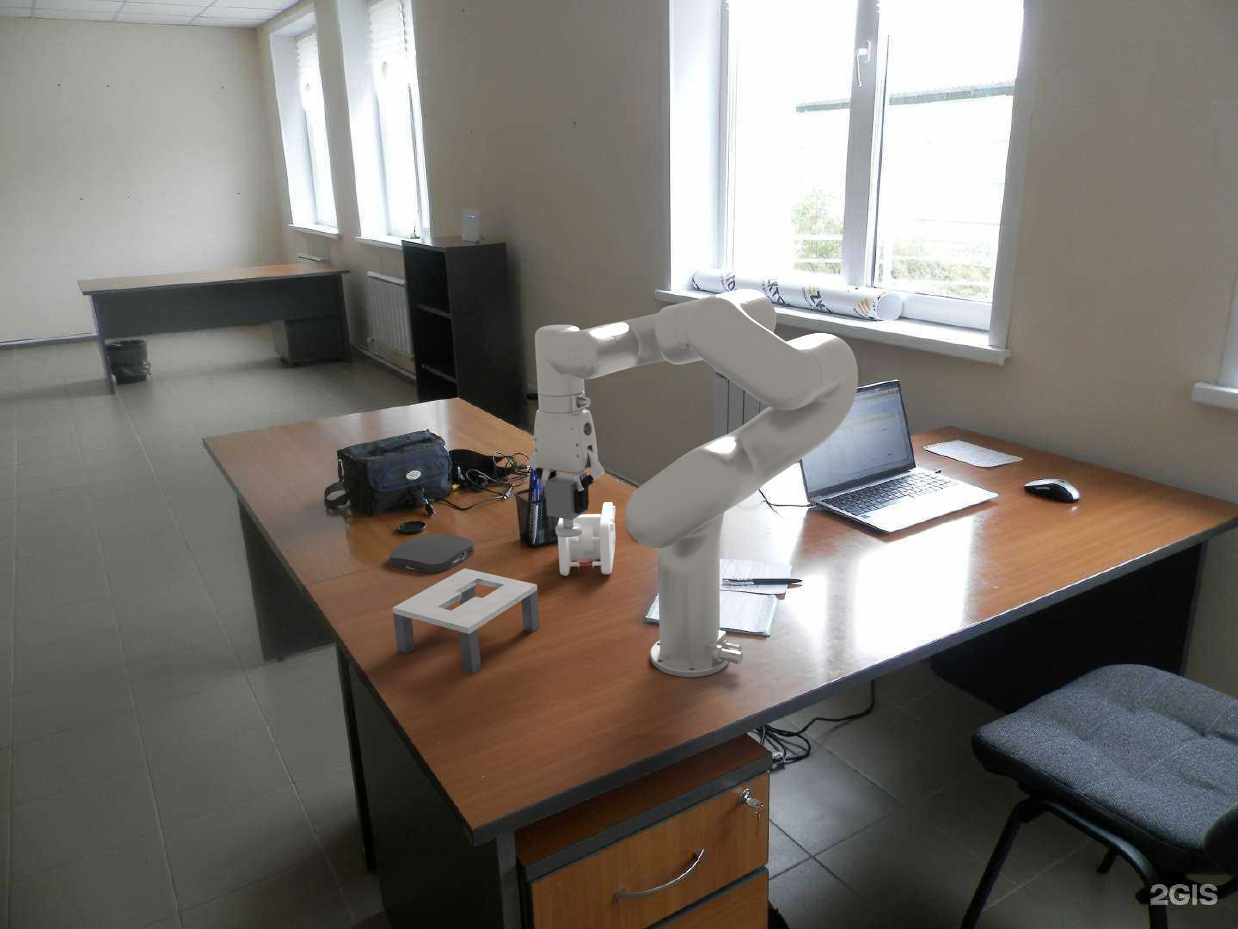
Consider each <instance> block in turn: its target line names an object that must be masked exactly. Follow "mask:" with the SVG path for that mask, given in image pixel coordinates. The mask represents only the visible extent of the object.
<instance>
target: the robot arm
mask: <svg viewBox="0 0 1238 929" xmlns="http://www.w3.org/2000/svg"><path fill="white" fill-rule="evenodd" d="M776 324H777V313H776V310H775V306H774V305H773V303H772V302H771V300H770V299H769V297H767V296H766V295H764V294H763V293H761V292H760V291H758V290H754V289H747V288H745V289H736V290H732V291H727V292H721V293H718V294H714V295H710V296H707V297H703V298H698V299H694V300H689V301H685V302H682V303H677V304H672V305H668V306H665V307H663V308H662V309H660V310H659V311H658V312H655V313H652V314H647V315H644V316H640V317H636V318H630V319H626V320H621V321H618V322H611V323H607V324H602V325H597V326H593V327H589V328H585V329H584V328H583V329H580V328H579V327H578V326H575V325H572V324H552V325H551V324H550V325H545V326H542V327H541V326H540V327H539V328H538V329H536V332H535V334H534V347H535V362H536V364H535V365H536V380H537V397H538V400H537V401H538V409H537V410H536V413H535V416H534V417H535V418H534V419H535V420H534V430H533V452H532V453H531V455H530V457H529V458H528V460H527V464H528V466H529V467H530V468H531V469H532V470H533V471H535V474H536V475H537V476H538V478H539V479H540V483H541V485H542V486H543V487H545V481H546V480H549V479H551V478H553V477H555V476H557V475H558V472H561V473H566V474H572V475H573V478H574V482H575V485H576V489H577V490H575V491H574V503H575V513H576V514H580V513H582V512H583V511H585V510H587V509H588V510H589V504H590V499H589V498H590V497H589V488H590V487H592V485H593V483H594V482H595V481H596V480H597V479H599V478H600V477H601V476H603V475H604V473H605V470H606V469H604V467H603V465H602V464H601V462H600V461H599V458H598V457H599V456H598V446H597V445H598V444H597V437H596V430H595V425H594V420H593V416H592V413H591V410H588V409H586V407H590V406H591V403H592V401H591V398H589V397H586V391H585V380H592V379H596V378H599V377H603V376H606V375H609V374H613V373H615V372H619V371H623V370H627V369H631V368H635V367H639V366H645V365H649V364H654V363H659V362H665V361H666V362H668V363H670V364H672V365H685V364H688V363H694V362H698V361H703V362H705V363H706V364H707V365H709V366H710V367H711V368H713V369H714V370H715V371H717V372H718V373H719V374H721V375H722V376H723V377H725V378H726V379H728V380H729V381H731V382H732V383H733V384H735V385H736V386H738V387H739V388H741V389H742V390H743V391H744V392H746V393H748V394H749V395H750V396H752V398H754V399H756V400H757V401H759V402H760V403H762V404H764V405H766V406H768V407H766V408H765V409H763V410H762V411H760V412H759V413H758V414H757V415H756V416H754V417H753V418H751V419H750V420H748V421H747V422H746V423H744V424H742V425H741V426H739V427H738V428H737V429H734V430H733V431H731V432H729V433H727V434H724V435H722V436H719V437H717V438H715V439H712V440H710V441H708V442H705V443H703V444H702V445H700V446H698V447H695V448H694V449H692V450H690V451H689V452H687V453H685V454H684V455H681V457H679V458H677V459H676V460H675V461H673V462H672V463H671V464H669V465H668V466H666V467H665V468H664V469H662V470H661V471H659V472H658V473H657V474H655V475H654V476H652V477H651V478H650V479H648V480H647V481H646V482H643V484H641V485H640V486H639V487H638V488H636V489H635V490H634V491H632V494H631V495H630V496H629V498H628V501H627V503H626V506H625V510H624V518H625V524H626V528H627V531H628V532H629V534H630V535H631V537H632V538H633V539H634V540H635V541H636V542H638V543H640V545H643V546H646V547H649V548H653V549H657V551H658V552H657V577H658V578H657V581H658V582H657V584H658V620H659V621H658V623H659V628H658V629H659V640H658V641H656V642H655V643H654V644H653V645H652V647H651V648H650V652H649V653H650V654H649V656H650V661H651V663H652V664H653V666H654V668H656V669H658V670H659V671H661V672H663V673H665V674H668V675H672V676H676V677H682V678H683V677H684V678H697V677H698V678H699V677H704V676H710V675H713V674H715V673H717V672H719V671H721V670H722V669H724V668H725V667H726V666H727V665H728V664H729V663H732V664H735V665H739V666H740V665H741V664H742V662H743V659H744V653H743V652H742V645H741V644H738V643H737V644H736V643H731V642H729V641H728V640H727V634H726V633H727V632H726V631H725V630H721V627H720V626H721V625H720V624H721V621H720V620H721V615H720V614H721V608H720V607H721V605H720V604H721V601H720V598H721V597H720V596H721V595H720V594H721V591H720V590H721V588H720V581H721V580H720V577H721V575H720V567H721V564H720V563H721V537H722V536H721V535H722V528H723V523H724V517H725V512H727V511H728V510H731V509H732V508H733V507H735V506H737V505H739V504H740V503H741V502H744V501H745V500H746V499H749V497H751V496H753V495H754V494H755V493H756V492H757V491H759V490H760V489H761V488H762V487H763V486H764V485H766V484H767V483H769V481H770V480H773V478H774V479H775V478H776V476H778V475H780V474H782V473H783V472H784V471H786V470H788V469H789V468H791V467H792V466H793V465H794V464H797V462H799V461H800V460H802V459H804V458H805V457H806V456H808V455H809V454H811V453H812V452H813V451H815V450H816V449H817V448H819V447H821V445H823V444H824V443H825V442H826V441H827V440H828V439H830V438H831V436H833V434H835V432H837V430H838V429H839V428H840V426H841V425H842V424H843V422H844V421H845V420H846V418H847V417H848V415H849V414H850V411H851V409H852V407H853V404H854V401H855V399H856V395H857V391H858V384H859V370H858V364H857V358H856V357H855V354H854V351H853V350H852V348H851V346H849V344H848V343H847V342H846V341H844V339H842V338H840V337H838V336H836V335H833V334H828V333H820V332H819V333H818V332H817V333H812V334H806V335H803V336H800V337H797V338H794V339H790V340H788V341H785V340H784V339H783V338H781V337H779V336H778V335H777V334H775V333H774V332H775V330H776V326H777V325H776ZM588 469H591V472H590V473H589V471H588ZM581 477H582V478H581ZM544 493H545V499H546V491H545V490H544Z"/></svg>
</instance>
